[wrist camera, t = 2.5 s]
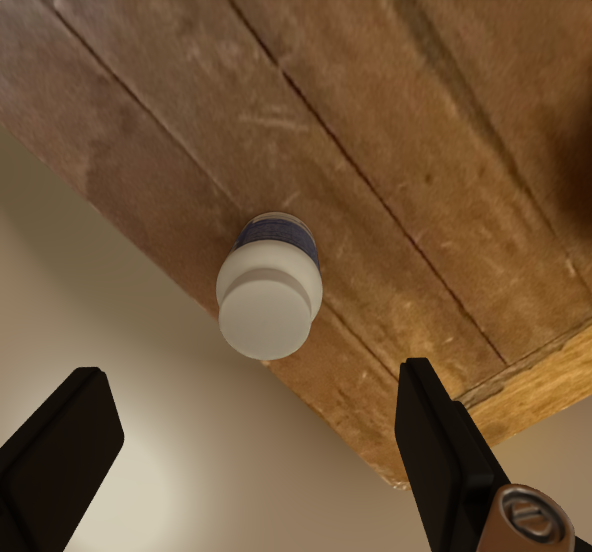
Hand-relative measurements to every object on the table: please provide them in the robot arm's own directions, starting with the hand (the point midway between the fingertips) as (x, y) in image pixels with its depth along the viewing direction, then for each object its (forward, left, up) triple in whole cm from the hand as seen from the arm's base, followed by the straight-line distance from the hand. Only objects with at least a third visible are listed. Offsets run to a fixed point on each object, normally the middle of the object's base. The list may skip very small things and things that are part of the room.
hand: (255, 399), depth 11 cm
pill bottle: (0, 0, -14) cm, 14 cm away
